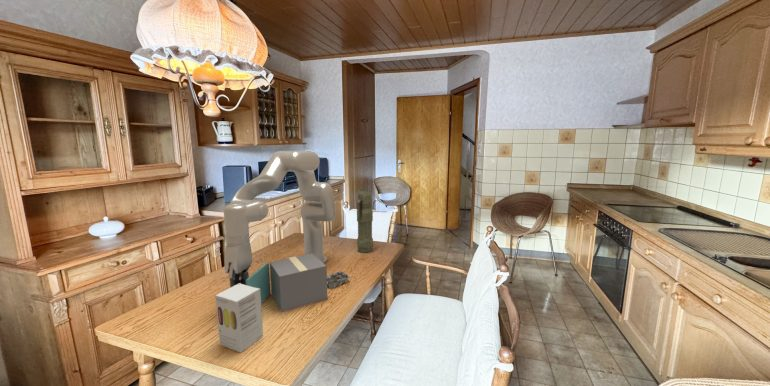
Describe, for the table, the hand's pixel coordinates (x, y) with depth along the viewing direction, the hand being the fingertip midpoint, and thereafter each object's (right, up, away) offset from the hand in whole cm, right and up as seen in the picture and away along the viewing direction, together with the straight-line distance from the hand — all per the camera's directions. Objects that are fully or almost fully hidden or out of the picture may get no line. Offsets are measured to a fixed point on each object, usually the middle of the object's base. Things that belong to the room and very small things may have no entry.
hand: (241, 287), depth 114 cm
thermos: (+41, +1, +66) cm, 78 cm away
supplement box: (+6, -13, -13) cm, 20 cm away
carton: (+17, -8, +14) cm, 23 cm away
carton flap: (0, -8, +8) cm, 12 cm away
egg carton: (+30, -6, +26) cm, 41 cm away
